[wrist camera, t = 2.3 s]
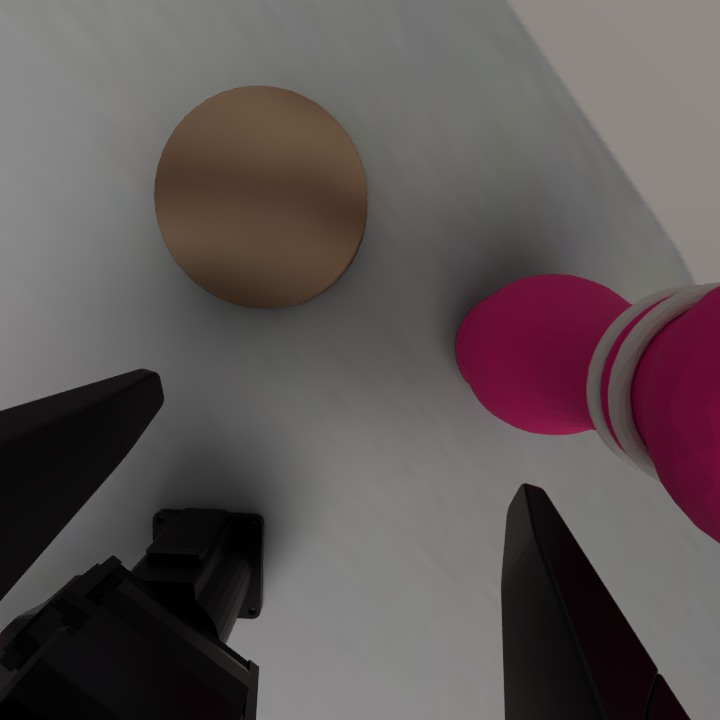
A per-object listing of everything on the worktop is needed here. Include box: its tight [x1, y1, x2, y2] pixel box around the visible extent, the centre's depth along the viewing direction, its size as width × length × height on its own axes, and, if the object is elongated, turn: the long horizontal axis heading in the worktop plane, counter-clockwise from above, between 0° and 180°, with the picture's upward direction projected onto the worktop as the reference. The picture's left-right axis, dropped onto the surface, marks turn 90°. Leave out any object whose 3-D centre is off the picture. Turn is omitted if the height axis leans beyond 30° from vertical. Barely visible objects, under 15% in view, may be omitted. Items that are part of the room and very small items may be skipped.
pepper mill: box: [455, 274, 720, 543], centre depth 12 cm, size 7×7×20 cm
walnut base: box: [154, 86, 367, 308], centre depth 21 cm, size 11×11×2 cm
